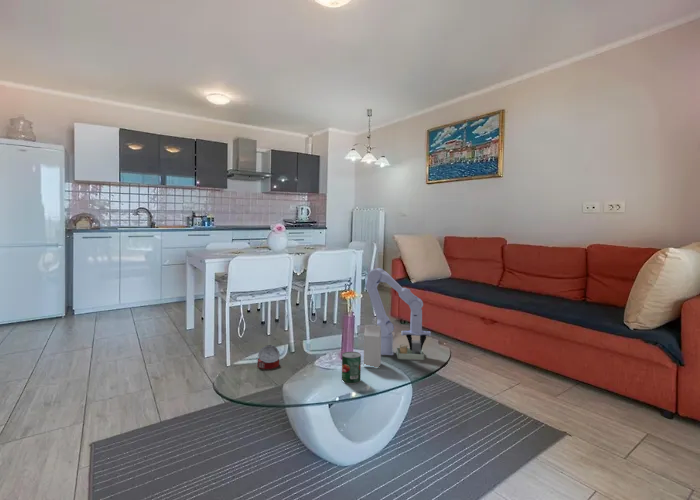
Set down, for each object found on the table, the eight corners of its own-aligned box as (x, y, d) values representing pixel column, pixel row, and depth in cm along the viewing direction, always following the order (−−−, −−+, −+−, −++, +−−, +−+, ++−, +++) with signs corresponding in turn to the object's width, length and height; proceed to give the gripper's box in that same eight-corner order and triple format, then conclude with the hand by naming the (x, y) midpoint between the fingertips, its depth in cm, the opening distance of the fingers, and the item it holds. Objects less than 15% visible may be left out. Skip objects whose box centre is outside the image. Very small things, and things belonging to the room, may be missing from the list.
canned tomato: (337, 380, 153) (338, 354, 152) (350, 375, 158) (350, 350, 158) (351, 385, 147) (352, 358, 147) (364, 380, 153) (364, 354, 153)
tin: (411, 355, 181) (411, 342, 181) (410, 352, 186) (410, 340, 186) (421, 355, 181) (421, 342, 181) (419, 352, 186) (419, 340, 186)
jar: (400, 357, 183) (400, 346, 182) (399, 354, 186) (399, 344, 186) (407, 357, 182) (407, 346, 182) (406, 354, 186) (407, 344, 186)
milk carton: (379, 369, 166) (379, 327, 165) (363, 368, 168) (364, 326, 167) (380, 364, 173) (381, 324, 172) (365, 363, 174) (366, 323, 174)
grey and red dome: (278, 372, 173) (288, 354, 172) (267, 378, 164) (277, 359, 163) (260, 359, 177) (270, 341, 176) (248, 363, 167) (258, 344, 166)
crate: (397, 359, 180) (397, 353, 180) (396, 353, 190) (396, 347, 190) (424, 360, 179) (424, 354, 179) (421, 354, 189) (421, 348, 189)
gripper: (402, 324, 180) (401, 351, 180) (432, 325, 179) (431, 352, 180) (401, 321, 187) (400, 347, 187) (429, 321, 186) (429, 348, 187)
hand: (415, 349), depth 184 cm, fingers closed on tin, 4 cm apart
